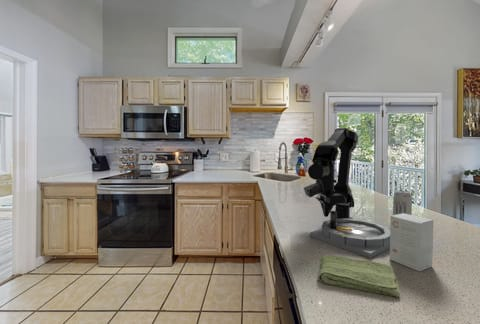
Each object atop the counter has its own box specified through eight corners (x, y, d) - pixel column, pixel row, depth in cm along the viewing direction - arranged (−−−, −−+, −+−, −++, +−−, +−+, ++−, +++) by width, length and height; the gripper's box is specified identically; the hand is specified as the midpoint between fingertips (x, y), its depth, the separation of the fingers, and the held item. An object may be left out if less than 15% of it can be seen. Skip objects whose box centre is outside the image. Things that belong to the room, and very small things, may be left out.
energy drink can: (390, 230, 95) (392, 192, 94) (394, 226, 100) (395, 189, 99) (409, 233, 91) (410, 194, 90) (412, 229, 96) (413, 191, 95)
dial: (379, 229, 91) (379, 210, 91) (384, 246, 76) (385, 223, 75) (331, 224, 98) (332, 206, 97) (328, 238, 83) (328, 217, 82)
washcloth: (403, 302, 52) (403, 288, 52) (317, 285, 59) (317, 272, 59) (391, 272, 64) (392, 261, 64) (321, 261, 71) (321, 250, 71)
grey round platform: (343, 224, 102) (344, 214, 102) (402, 240, 84) (403, 228, 84) (309, 236, 90) (309, 224, 89) (370, 258, 72) (370, 244, 71)
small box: (432, 266, 66) (434, 219, 66) (419, 272, 64) (421, 223, 63) (401, 255, 74) (403, 212, 73) (388, 259, 71) (389, 215, 70)
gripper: (297, 174, 103) (297, 211, 104) (317, 180, 84) (316, 225, 85) (322, 174, 104) (322, 210, 105) (347, 179, 86) (346, 223, 87)
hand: (325, 216), depth 95 cm, fingers closed
